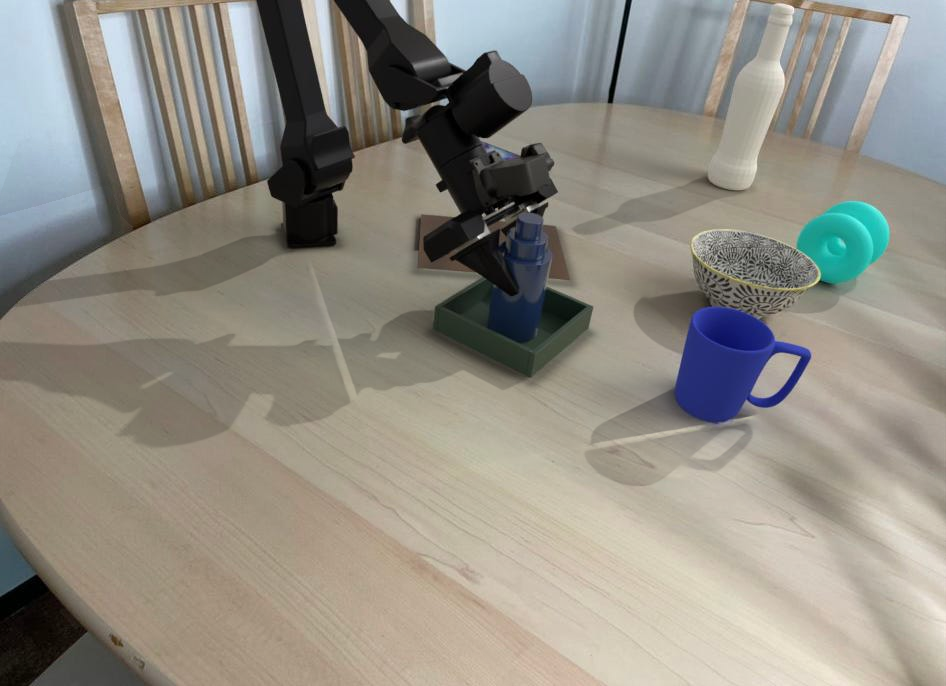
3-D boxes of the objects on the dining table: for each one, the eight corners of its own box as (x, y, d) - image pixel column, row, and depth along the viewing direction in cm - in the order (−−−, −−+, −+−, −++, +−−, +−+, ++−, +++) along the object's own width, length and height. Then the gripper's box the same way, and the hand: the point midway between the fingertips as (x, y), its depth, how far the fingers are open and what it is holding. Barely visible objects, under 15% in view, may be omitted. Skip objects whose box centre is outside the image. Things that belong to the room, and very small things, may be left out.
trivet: (417, 271, 96) (417, 267, 96) (421, 217, 109) (421, 214, 109) (569, 283, 98) (570, 279, 97) (555, 229, 111) (555, 225, 111)
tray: (432, 332, 85) (434, 306, 83) (496, 290, 94) (500, 265, 92) (529, 381, 79) (535, 354, 77) (587, 331, 89) (593, 306, 86)
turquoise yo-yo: (783, 268, 108) (808, 205, 103) (809, 249, 115) (834, 189, 109) (851, 297, 103) (881, 232, 97) (875, 275, 110) (904, 213, 104)
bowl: (714, 265, 107) (730, 217, 102) (819, 315, 98) (842, 264, 94) (652, 299, 97) (666, 247, 92) (763, 357, 88) (785, 303, 84)
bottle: (755, 183, 136) (816, 7, 119) (744, 196, 130) (805, 12, 113) (713, 170, 139) (766, -3, 122) (699, 182, 133) (753, 2, 116)
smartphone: (477, 139, 137) (545, 164, 130) (476, 144, 137) (544, 169, 130) (452, 147, 131) (521, 173, 125) (451, 152, 132) (520, 178, 125)
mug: (786, 447, 75) (823, 368, 69) (666, 422, 76) (693, 342, 70) (775, 398, 81) (808, 322, 76) (665, 375, 83) (689, 299, 77)
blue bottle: (497, 345, 83) (515, 232, 75) (479, 316, 88) (494, 207, 80) (546, 339, 85) (568, 229, 77) (526, 311, 90) (544, 204, 82)
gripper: (456, 142, 68) (539, 290, 70) (557, 104, 81) (625, 229, 83) (387, 194, 76) (463, 326, 78) (489, 152, 89) (553, 266, 91)
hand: (530, 284), depth 82 cm, fingers closed on blue bottle, 6 cm apart
